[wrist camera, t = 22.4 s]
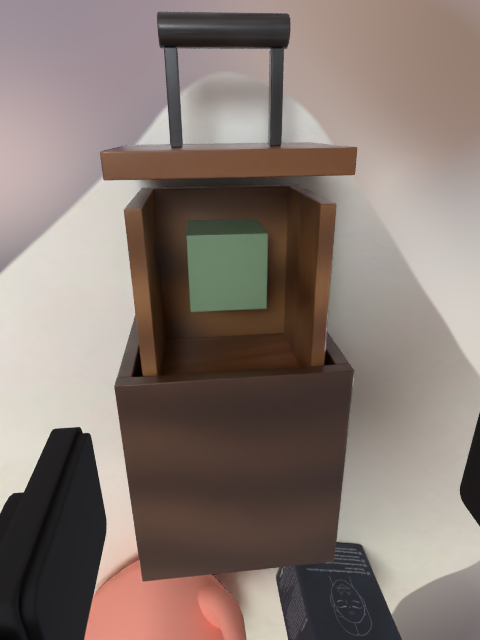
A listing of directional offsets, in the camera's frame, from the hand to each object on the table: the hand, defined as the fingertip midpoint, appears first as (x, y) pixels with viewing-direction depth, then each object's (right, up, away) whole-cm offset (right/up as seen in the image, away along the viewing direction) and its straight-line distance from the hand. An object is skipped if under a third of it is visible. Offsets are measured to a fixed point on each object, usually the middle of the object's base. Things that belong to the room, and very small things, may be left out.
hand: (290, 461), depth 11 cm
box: (+7, -21, +34) cm, 41 cm away
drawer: (-2, +11, +18) cm, 21 cm away
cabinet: (-2, -2, +25) cm, 25 cm away
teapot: (-8, -23, +33) cm, 41 cm away
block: (-2, +8, +19) cm, 20 cm away
